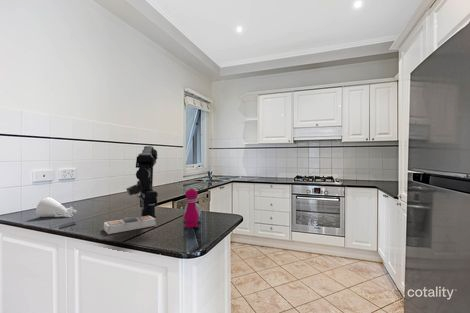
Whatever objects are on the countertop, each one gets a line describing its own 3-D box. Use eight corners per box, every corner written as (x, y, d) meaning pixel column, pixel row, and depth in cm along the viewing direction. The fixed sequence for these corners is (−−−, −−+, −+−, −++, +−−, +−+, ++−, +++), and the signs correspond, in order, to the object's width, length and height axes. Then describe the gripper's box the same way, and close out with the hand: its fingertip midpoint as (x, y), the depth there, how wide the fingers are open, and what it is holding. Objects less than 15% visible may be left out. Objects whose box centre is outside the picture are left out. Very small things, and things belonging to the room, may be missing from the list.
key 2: (147, 220, 124) (148, 216, 124) (151, 222, 121) (151, 218, 121) (138, 221, 121) (138, 217, 121) (141, 223, 118) (141, 219, 118)
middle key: (133, 220, 120) (133, 216, 120) (136, 222, 116) (136, 218, 116) (124, 221, 117) (124, 217, 117) (126, 223, 113) (126, 219, 113)
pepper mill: (184, 224, 122) (185, 185, 122) (199, 224, 122) (199, 184, 122) (183, 228, 114) (183, 186, 115) (198, 228, 115) (198, 186, 115)
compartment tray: (149, 221, 127) (149, 215, 127) (155, 225, 120) (155, 218, 120) (103, 229, 113) (103, 222, 113) (108, 234, 106) (108, 226, 106)
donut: (201, 220, 130) (201, 201, 130) (198, 222, 126) (198, 203, 127) (186, 218, 133) (186, 200, 134) (182, 220, 130) (182, 201, 130)
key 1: (118, 225, 115) (118, 221, 115) (121, 227, 112) (121, 223, 112) (108, 226, 112) (108, 222, 112) (110, 229, 109) (110, 224, 109)
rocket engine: (77, 200, 139) (48, 193, 140) (63, 216, 130) (32, 208, 131) (83, 212, 146) (55, 205, 147) (70, 228, 138) (40, 221, 138)
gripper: (122, 178, 123) (122, 209, 123) (134, 181, 109) (133, 215, 108) (144, 177, 130) (144, 206, 130) (158, 179, 116) (158, 212, 115)
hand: (144, 210), depth 121 cm, fingers closed
